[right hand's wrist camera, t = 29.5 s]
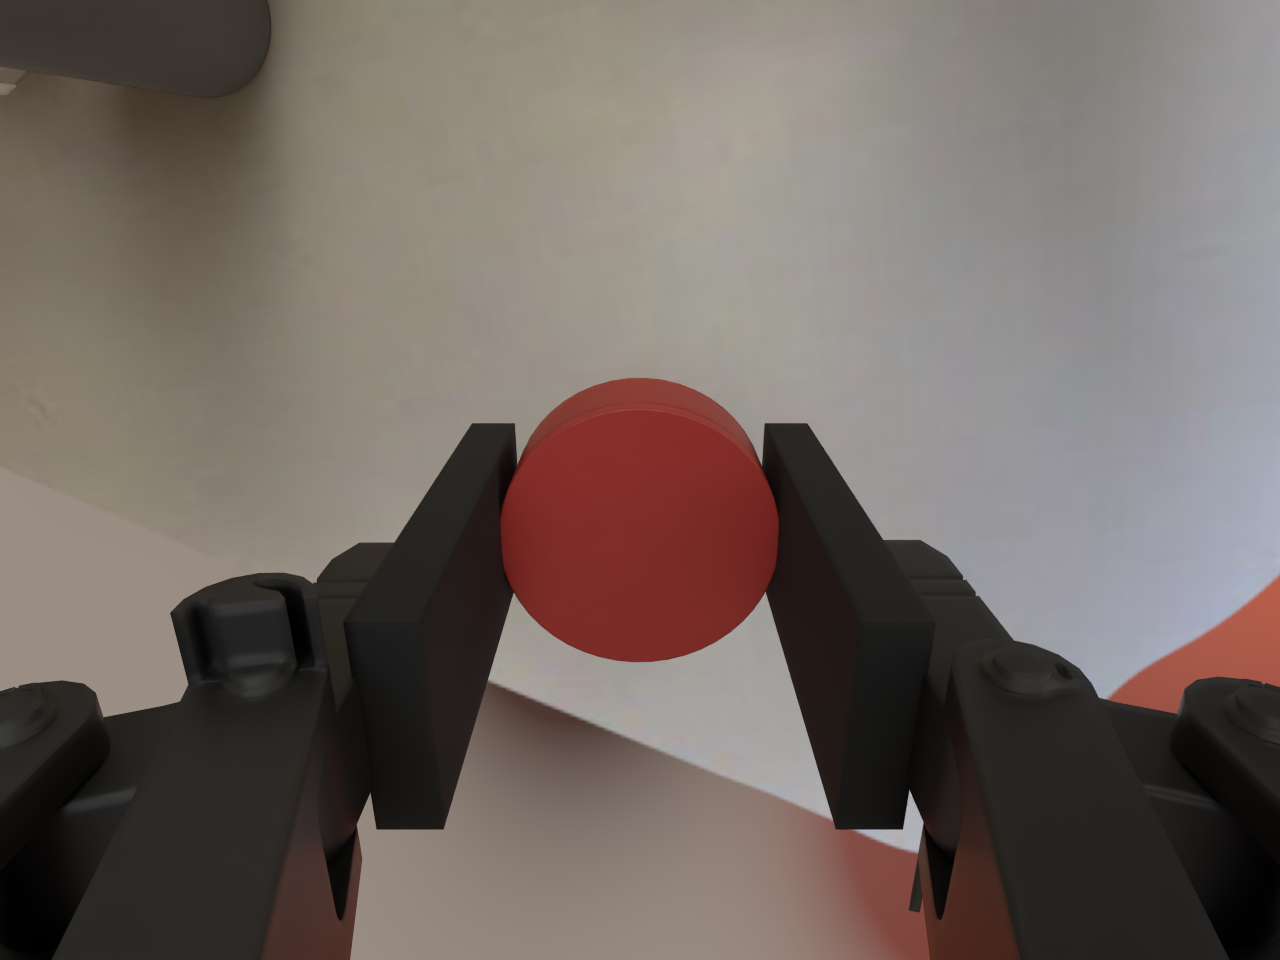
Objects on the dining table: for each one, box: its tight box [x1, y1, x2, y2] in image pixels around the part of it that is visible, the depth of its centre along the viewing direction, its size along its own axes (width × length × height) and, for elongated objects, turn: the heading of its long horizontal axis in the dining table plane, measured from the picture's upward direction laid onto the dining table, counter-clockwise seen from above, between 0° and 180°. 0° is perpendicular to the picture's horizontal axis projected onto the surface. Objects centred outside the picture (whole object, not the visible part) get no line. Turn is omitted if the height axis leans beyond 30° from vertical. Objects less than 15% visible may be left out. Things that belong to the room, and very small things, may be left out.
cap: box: [500, 378, 779, 662], centre depth 13 cm, size 4×4×2 cm
